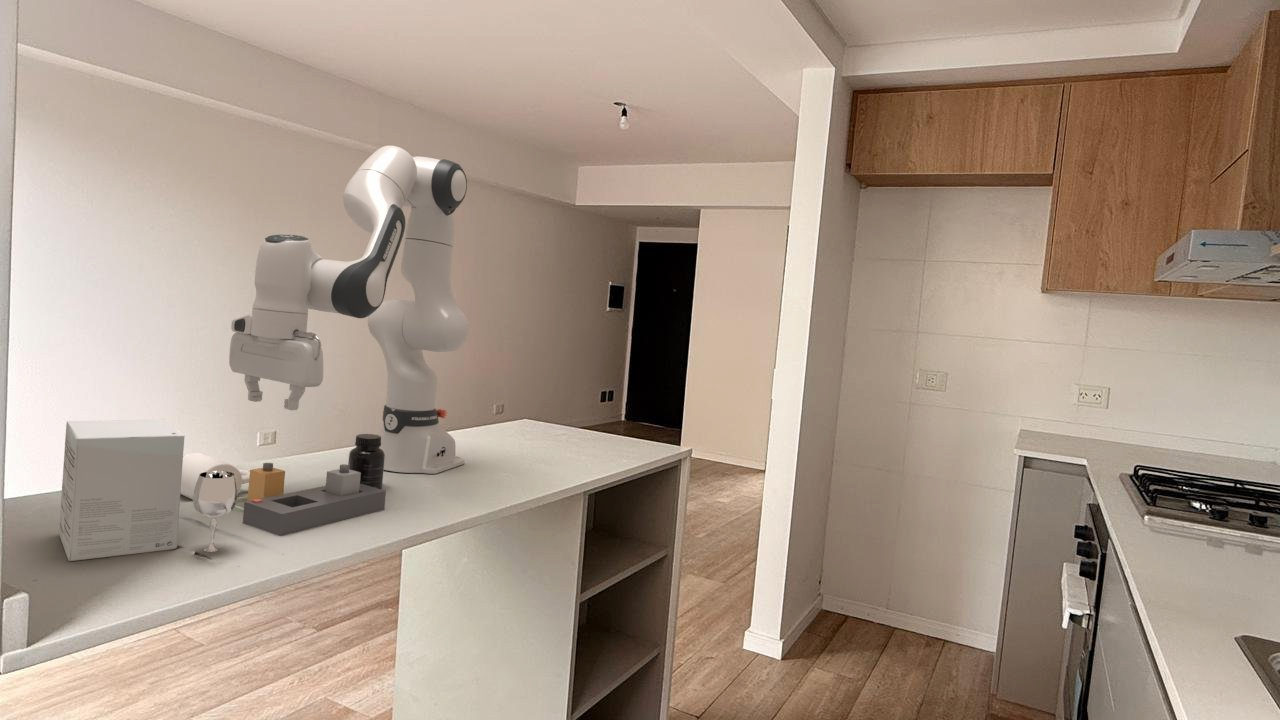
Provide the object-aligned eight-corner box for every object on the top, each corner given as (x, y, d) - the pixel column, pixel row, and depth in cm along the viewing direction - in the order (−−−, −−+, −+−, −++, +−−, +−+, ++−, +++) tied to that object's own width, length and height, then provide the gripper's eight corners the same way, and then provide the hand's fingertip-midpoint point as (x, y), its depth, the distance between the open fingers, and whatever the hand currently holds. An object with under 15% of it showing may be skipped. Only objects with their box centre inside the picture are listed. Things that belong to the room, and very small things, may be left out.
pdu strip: (348, 506, 144) (350, 479, 143) (383, 517, 140) (386, 489, 139) (242, 531, 124) (244, 500, 124) (279, 544, 120) (282, 512, 120)
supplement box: (159, 524, 123) (167, 418, 122) (178, 549, 113) (186, 434, 112) (57, 534, 114) (64, 419, 113) (67, 562, 104) (75, 437, 103)
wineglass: (204, 544, 116) (209, 468, 116) (240, 549, 116) (246, 472, 115) (180, 557, 111) (185, 476, 110) (218, 562, 110) (224, 481, 110)
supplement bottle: (339, 492, 153) (344, 433, 152) (371, 488, 158) (376, 431, 157) (355, 500, 148) (360, 440, 147) (387, 497, 153) (393, 438, 152)
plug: (267, 504, 137) (270, 460, 137) (282, 509, 136) (285, 464, 135) (246, 508, 134) (250, 463, 133) (262, 513, 132) (265, 467, 132)
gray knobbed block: (341, 505, 139) (345, 461, 138) (357, 510, 137) (361, 466, 136) (323, 509, 135) (327, 464, 135) (339, 514, 133) (343, 469, 133)
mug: (195, 511, 131) (198, 466, 131) (167, 498, 137) (170, 454, 136) (262, 500, 141) (265, 459, 141) (233, 488, 147) (236, 448, 146)
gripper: (336, 334, 131) (329, 413, 132) (257, 321, 140) (250, 395, 141) (305, 333, 125) (298, 416, 126) (225, 320, 134) (218, 397, 135)
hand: (272, 405), depth 133 cm, fingers open, 8 cm apart
